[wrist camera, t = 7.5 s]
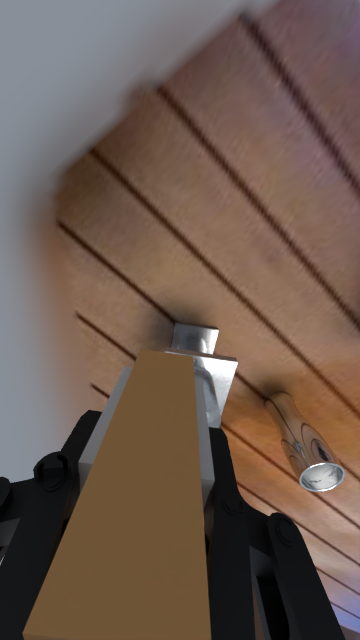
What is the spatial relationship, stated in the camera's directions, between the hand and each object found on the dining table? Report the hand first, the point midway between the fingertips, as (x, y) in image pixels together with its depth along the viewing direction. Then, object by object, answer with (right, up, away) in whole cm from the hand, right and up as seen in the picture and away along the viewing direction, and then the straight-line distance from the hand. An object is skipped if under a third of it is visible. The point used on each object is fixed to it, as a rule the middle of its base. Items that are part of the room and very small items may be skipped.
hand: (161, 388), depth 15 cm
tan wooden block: (0, +1, +2) cm, 2 cm away
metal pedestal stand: (+3, -4, +26) cm, 27 cm away
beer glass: (+23, -13, +30) cm, 40 cm away
